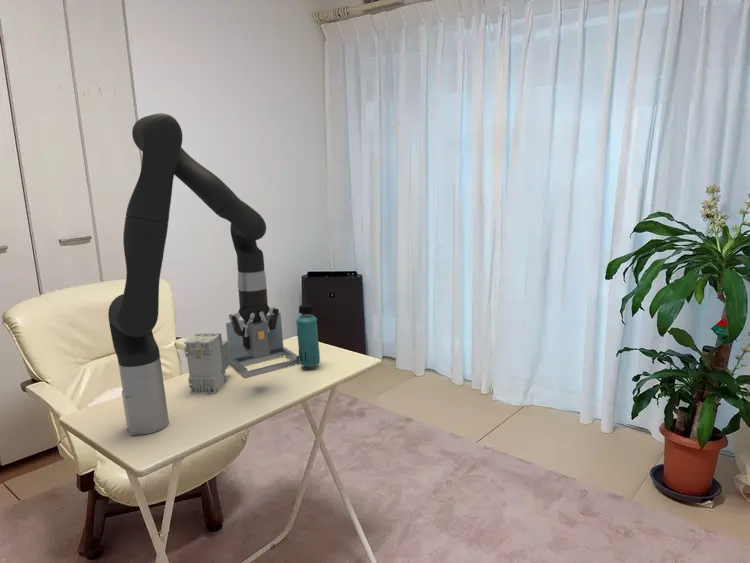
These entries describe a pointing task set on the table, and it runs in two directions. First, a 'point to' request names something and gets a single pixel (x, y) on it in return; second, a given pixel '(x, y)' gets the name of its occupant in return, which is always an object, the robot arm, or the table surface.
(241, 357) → the grey frame with backplate
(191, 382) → the circuit breaker
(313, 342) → the beverage bottle
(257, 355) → the block
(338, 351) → the table surface
